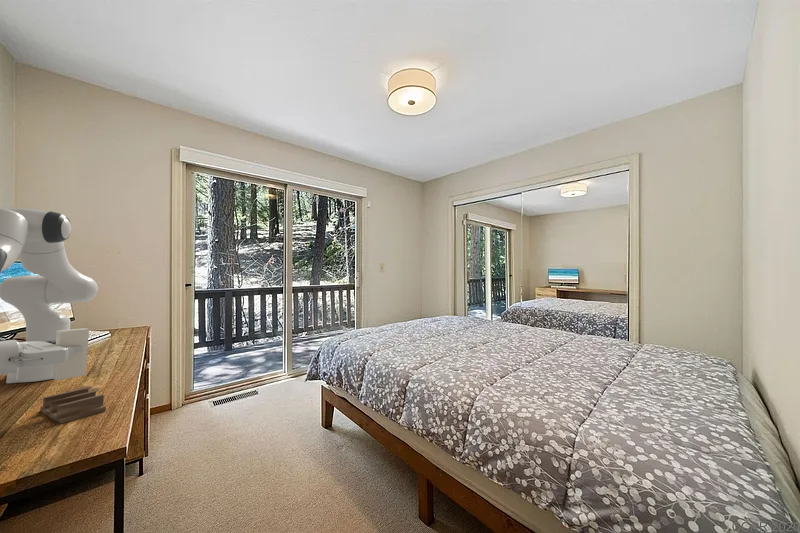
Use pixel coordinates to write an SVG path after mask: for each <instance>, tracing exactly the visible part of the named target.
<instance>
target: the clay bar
mask: <svg viewBox="0 0 800 533" xmlns="http://www.w3.org/2000/svg"><path fill="white" fill-rule="evenodd" d="M89 336H90V328H86V327H83V328H72V329H71V328H70V330H59V331H57V333H56V345H58V346H61V347H73V346H82V347H83V349H82V351H81V352H77V353H72V354H69V355H68V359H67V361H64V362H60V363H54V372H53V380H54V381H61V380H62V381H63V380H66V379H72V378H77V377H82V376H86V374H87V363H88V347H89Z"/></svg>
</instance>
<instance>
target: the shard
mask: <svg viewBox="0 0 800 533" xmlns="http://www.w3.org/2000/svg"><path fill="white" fill-rule="evenodd" d="M86 387H87V388H88V392H91V391H96V392H97V391H99V390H100V389H101V388H100V387H99V386H94V385H80V386H78V387H75V388H73V389H70V390H66V391H65V392H69V391H73V390H77V389H82V388H86Z"/></svg>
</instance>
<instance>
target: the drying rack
mask: <svg viewBox="0 0 800 533" xmlns="http://www.w3.org/2000/svg"><path fill="white" fill-rule="evenodd" d="M68 391H69V390H68ZM104 398H105V395H104V394H97V391H91V392H88V388H87V387H86V388H82V389H77V390H73V391H69V392H66V391H65V392H59V393H56V394H51V395H49V396H43V399H42V405H41V406H40V409H39V410H40V412H42V413H43V414H44V415H46V416H48V417H49V418H50V419H53V421H56V422H57V423H58V424H60V425H61V424H65V423H69V422H71V421H75V420H78V419H82V418H85V417H88V416H92V415H95V414H99V413H100V414H101V413H103V412H106V411H107V408H106V407H107V406H106V405H104Z"/></svg>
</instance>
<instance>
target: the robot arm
mask: <svg viewBox="0 0 800 533" xmlns="http://www.w3.org/2000/svg"><path fill="white" fill-rule="evenodd" d="M71 232H72V225H71V221H70V219H69V218H68V217H67V216H66V215H64V214H63V213H60V212H55V211H52V210H51V211H46V210H41V209H40V210H39V209H34V208H25V207H8V206H0V274H1V273H2V272H3V271H5V270H8V269H10V268H11V267H12V266H13V264H14V263H15V262H16V261H17V259H18V258H19V260H20V262H21V263H20V264H21V265H22V267H23V268H24V269H25V270H27V271H28V272H30V273H32V274H35V275H30V274H29V275H28V274H27V275H19V276H11V277H7V278H5V279H4V280H3V281H1V283H0V299H1V300H2V301H3V302H5V303H7V304H9V305H11V306H13V307H14V308H16V309H17V310H18V311H19V312H20V314H21V315H22V316H23V318H24V321H25V341H18V340H17V339H8V340H7V339H6V340H0V376H4V375H7V376H6V380H5V384H16V383H31V382H41V381H47V380H52V379H53V372H54V363H60V362H64V361H67V359H68V355H69V354H72V353H77V352H81V351H82V349H83V347H82V346H73V347H61V346H58V345H56V333H57V331H59V330H70V329H71V324H72V323H71V322H72V321H71V319H70V317H69V316H68V315H66V314H63V313H61V312H58V311H55V310H54V309H53V308H52V306H51V304H52V305H56V304H77V303H78V304H79V303H83V302H89V301H92V300H93V299H94V298H96V296H97V294H98V291H99V285H98V283H97V282H96V281H95V280H94V279H93V278H92V277H89V276H86V275H84V274H83V273H81V272H80V271H78V270H77V269H75V267H73V266H72V264H71V263H70V261H69V258H68V255H67V252H66V247H65V243H64V242H65V241H66V240H68V239H69V238H70V235H71ZM53 380H54V379H53Z"/></svg>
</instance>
